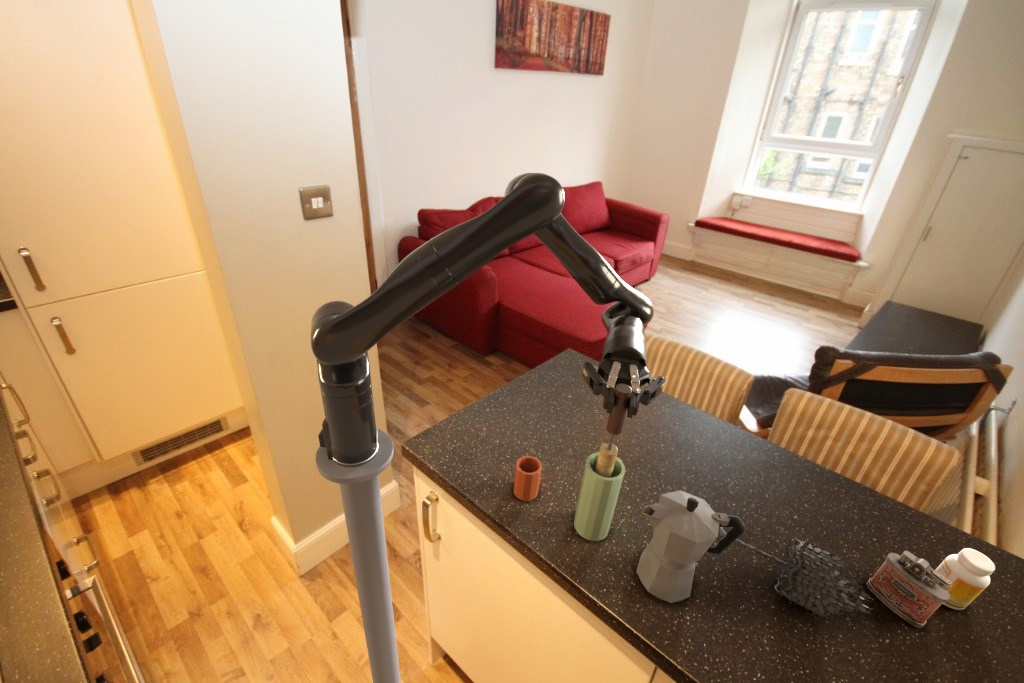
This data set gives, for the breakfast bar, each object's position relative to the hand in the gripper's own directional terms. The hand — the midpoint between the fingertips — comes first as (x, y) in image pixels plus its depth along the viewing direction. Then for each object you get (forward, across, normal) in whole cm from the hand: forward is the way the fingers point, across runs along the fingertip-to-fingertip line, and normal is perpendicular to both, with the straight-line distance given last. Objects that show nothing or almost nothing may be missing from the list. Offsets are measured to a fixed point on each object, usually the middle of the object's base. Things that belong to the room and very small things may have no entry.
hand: (620, 410), depth 65 cm
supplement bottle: (-7, +59, +29) cm, 66 cm away
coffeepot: (+3, +14, +29) cm, 32 cm away
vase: (-3, 0, +29) cm, 29 cm away
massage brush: (-1, +31, +29) cm, 43 cm away
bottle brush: (-3, 0, +16) cm, 16 cm away
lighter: (-3, +49, +29) cm, 57 cm away
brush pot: (-7, -13, +29) cm, 32 cm away
